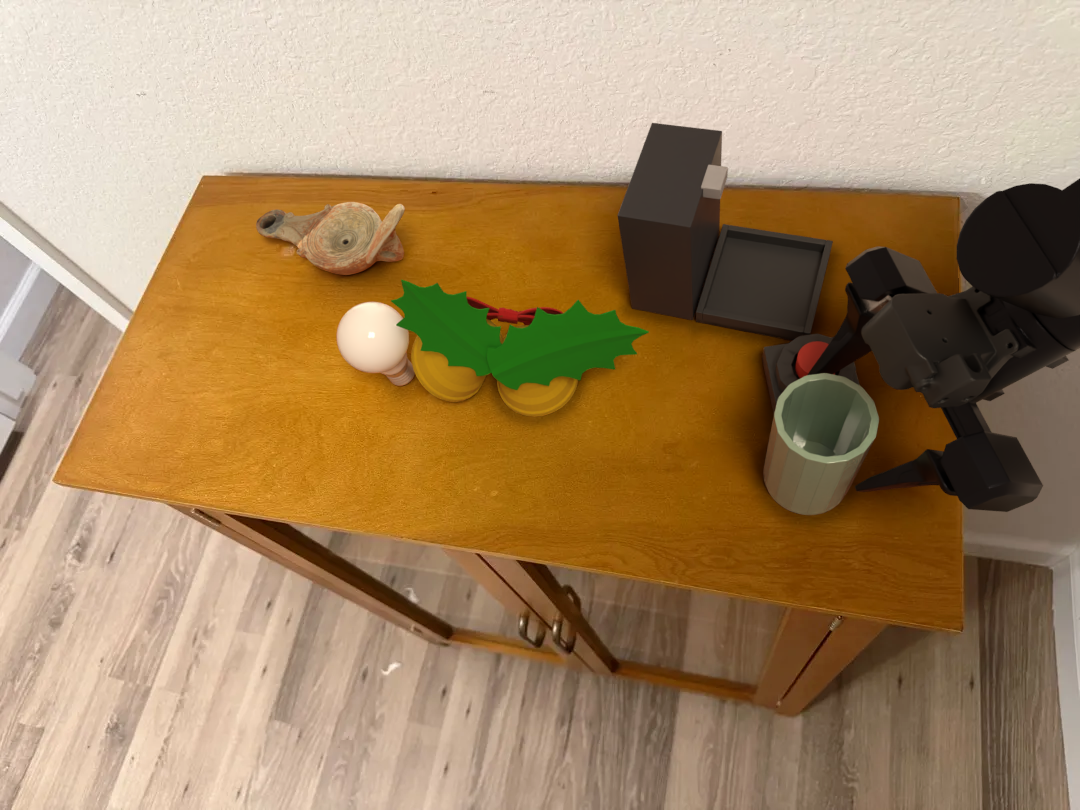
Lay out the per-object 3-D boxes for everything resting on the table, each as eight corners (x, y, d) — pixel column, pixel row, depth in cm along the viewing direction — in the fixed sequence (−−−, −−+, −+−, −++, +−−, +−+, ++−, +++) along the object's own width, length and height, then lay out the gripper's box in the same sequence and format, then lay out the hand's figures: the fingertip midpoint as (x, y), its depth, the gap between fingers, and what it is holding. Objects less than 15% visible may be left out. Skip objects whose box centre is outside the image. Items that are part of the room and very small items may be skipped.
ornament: (610, 373, 77) (648, 255, 66) (610, 439, 72) (652, 322, 60) (403, 343, 76) (407, 216, 64) (387, 408, 70) (388, 281, 59)
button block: (842, 347, 68) (849, 323, 65) (861, 418, 65) (870, 398, 62) (761, 358, 70) (764, 336, 66) (776, 429, 66) (780, 409, 63)
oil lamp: (417, 306, 79) (381, 247, 70) (252, 265, 86) (200, 207, 77) (450, 239, 82) (419, 174, 73) (288, 205, 89) (242, 142, 80)
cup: (838, 433, 65) (864, 367, 55) (858, 510, 62) (889, 455, 52) (756, 443, 66) (766, 380, 56) (771, 519, 63) (785, 468, 53)
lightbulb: (362, 392, 76) (310, 338, 66) (394, 340, 78) (348, 279, 68) (414, 414, 74) (369, 361, 64) (446, 360, 76) (406, 300, 66)
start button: (830, 348, 65) (834, 338, 63) (839, 382, 63) (843, 372, 62) (791, 354, 65) (793, 344, 64) (799, 387, 64) (801, 378, 62)
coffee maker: (830, 252, 73) (856, 143, 60) (807, 344, 69) (830, 248, 57) (660, 225, 78) (651, 119, 65) (631, 309, 74) (616, 215, 62)
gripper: (906, 157, 46) (719, 309, 56) (1070, 437, 37) (813, 553, 48) (995, 207, 52) (812, 334, 63) (1152, 454, 43) (910, 553, 54)
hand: (833, 432), depth 57 cm, fingers open, 9 cm apart
